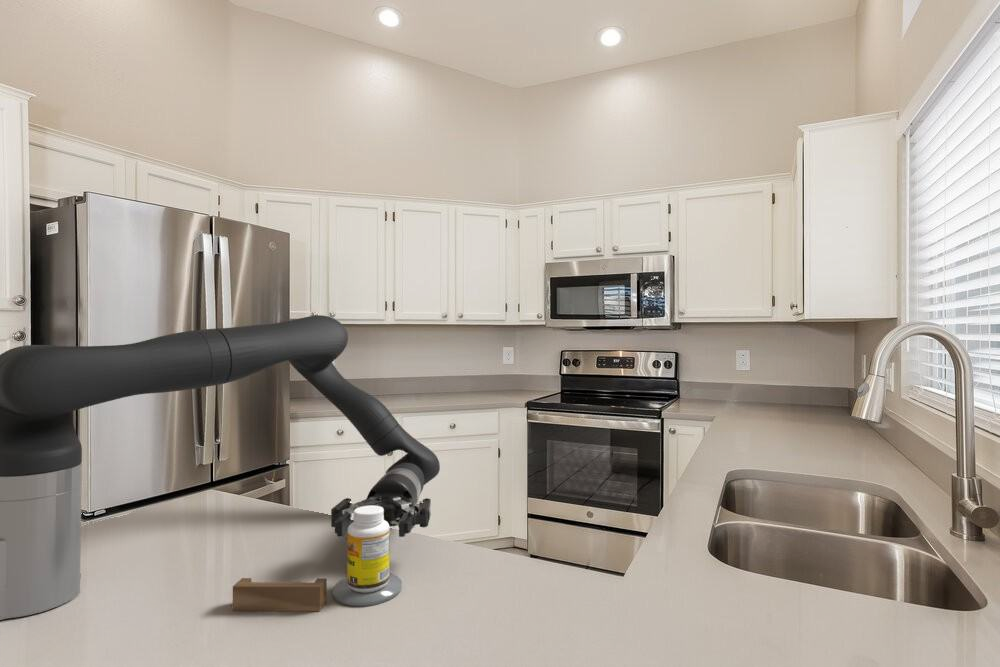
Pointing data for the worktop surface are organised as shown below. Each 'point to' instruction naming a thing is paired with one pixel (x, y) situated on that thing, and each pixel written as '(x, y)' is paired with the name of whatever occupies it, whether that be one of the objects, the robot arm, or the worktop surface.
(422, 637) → the worktop surface
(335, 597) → the smooth stone
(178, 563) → the worktop surface
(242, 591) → the cradle
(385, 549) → the supplement bottle
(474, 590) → the worktop surface
